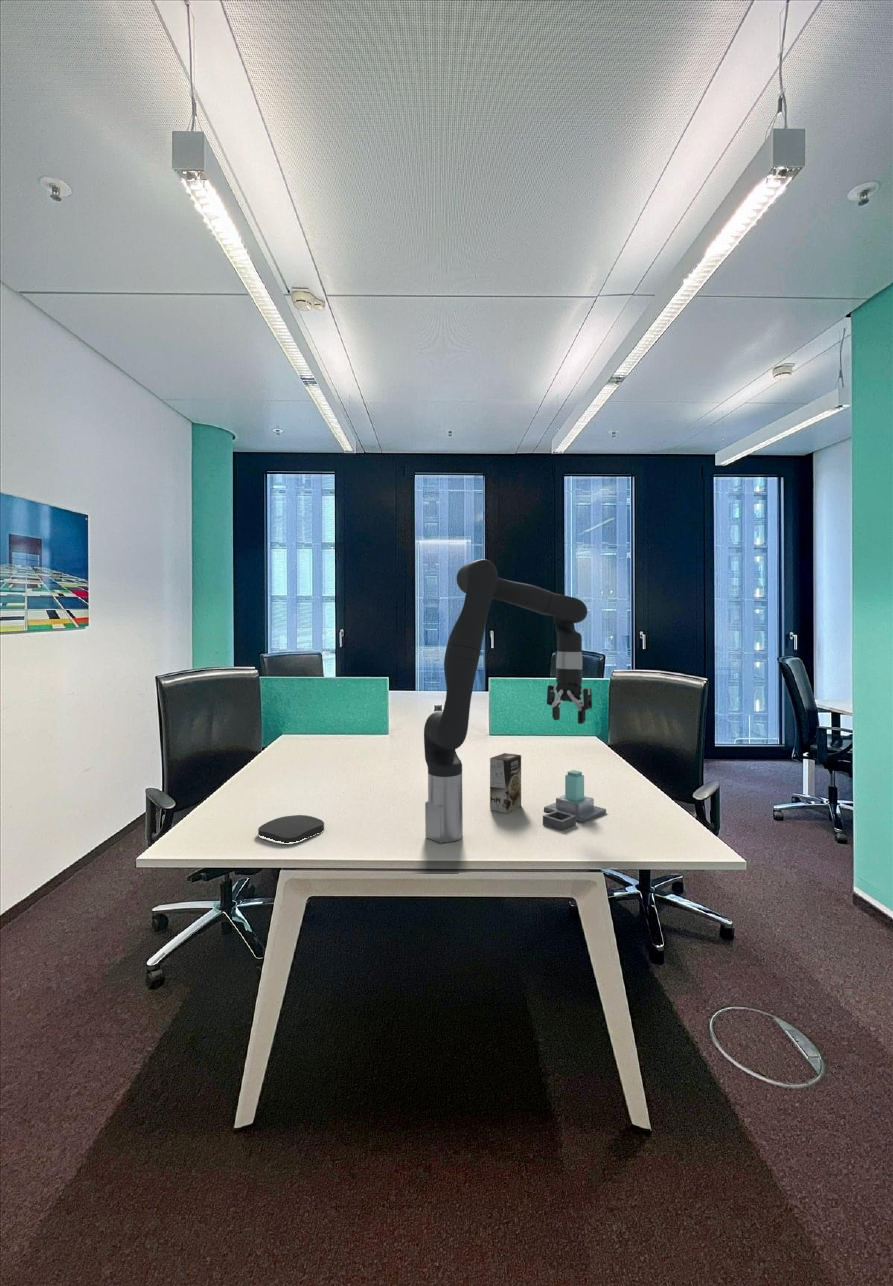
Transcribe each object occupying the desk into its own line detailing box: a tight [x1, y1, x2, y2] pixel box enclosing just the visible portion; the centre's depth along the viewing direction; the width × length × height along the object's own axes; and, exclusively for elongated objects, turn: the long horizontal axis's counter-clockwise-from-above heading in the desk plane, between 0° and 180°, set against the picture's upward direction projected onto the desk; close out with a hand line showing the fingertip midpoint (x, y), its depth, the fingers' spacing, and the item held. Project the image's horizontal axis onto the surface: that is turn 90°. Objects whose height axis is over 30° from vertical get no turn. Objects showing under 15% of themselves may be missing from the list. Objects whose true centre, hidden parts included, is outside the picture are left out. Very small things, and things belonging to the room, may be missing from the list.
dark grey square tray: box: [542, 810, 577, 832], centre depth 152 cm, size 7×7×2 cm
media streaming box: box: [257, 814, 325, 843], centre depth 148 cm, size 15×15×3 cm
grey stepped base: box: [543, 794, 607, 824], centre depth 163 cm, size 12×14×4 cm
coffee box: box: [489, 752, 522, 814], centre depth 167 cm, size 9×6×16 cm
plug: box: [564, 769, 585, 802], centre depth 162 cm, size 4×4×11 cm
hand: (568, 721), depth 159 cm, fingers open, 8 cm apart
